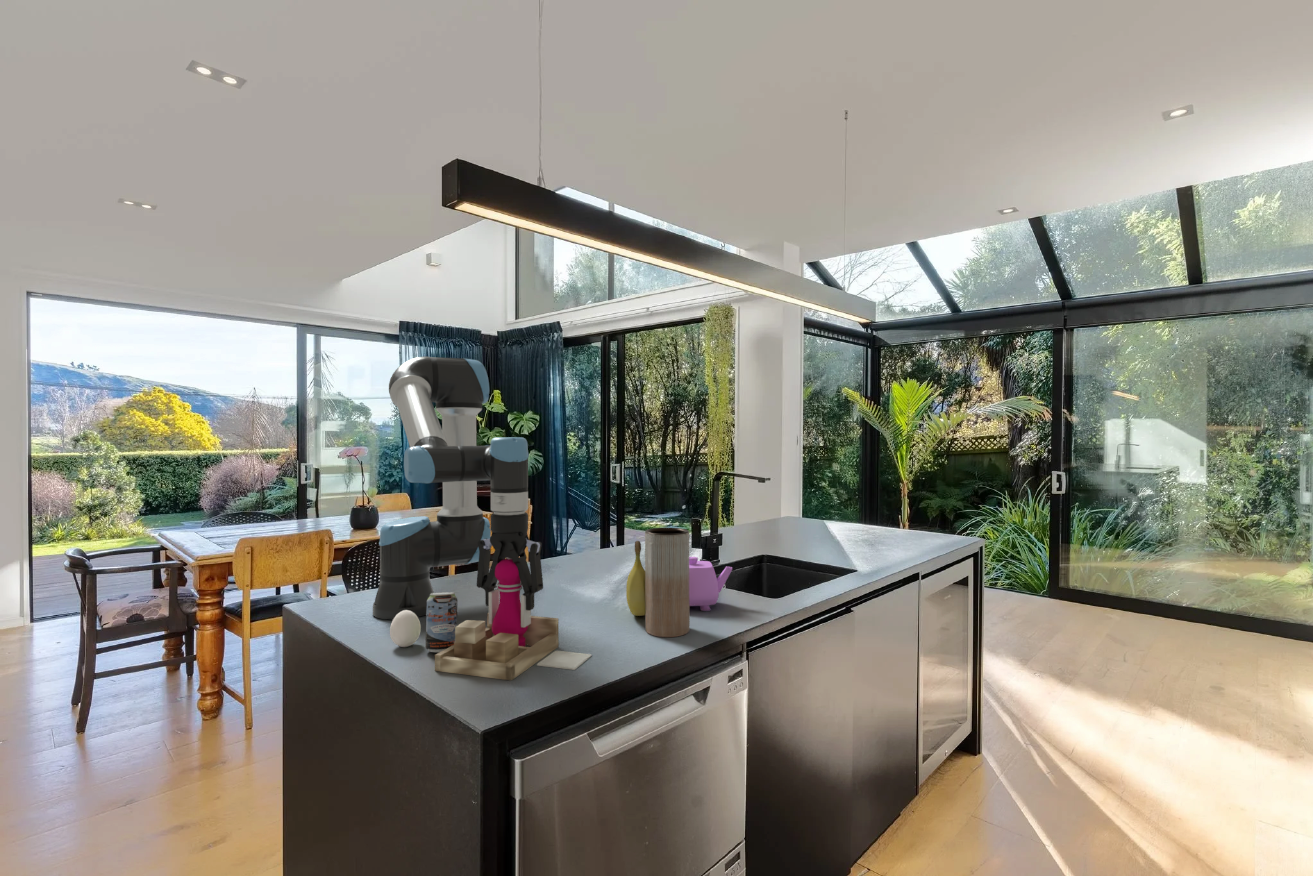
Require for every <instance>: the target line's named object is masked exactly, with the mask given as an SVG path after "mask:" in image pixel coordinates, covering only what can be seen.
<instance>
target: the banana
mask: <svg viewBox="0 0 1313 876" xmlns="http://www.w3.org/2000/svg"><path fill="white" fill-rule="evenodd" d="M641 551H642V544H641V541H639V540H636V541H635V542H634V553H635V559H634V564H633V566H632V568H631V570H630V571H629V574H628V576H627V580H626V592H625V595H626V603H627V606H628V608H629V611H630V613H631V615H632V616H635V617H636V616H637V617H638V616H639V617H640V616H643V617H645V567H644V566H643V565H642V562H641Z"/></svg>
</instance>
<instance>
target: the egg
mask: <svg viewBox="0 0 1313 876" xmlns="http://www.w3.org/2000/svg"><path fill="white" fill-rule="evenodd" d="M421 628H422V627H421V622H420V619H419V617H417V616H416V614H415V613H413V612H412V611H409V610H404V611H401V612H399V613H398V614H397V615H396V616H395V618H394V619H392V621H391V624H390V627H389V636H390V639H391V640H392V642H393V643H394V644H395V645H397V646H398V647H401V648H407V647H411V646H412V645H413V644H415V643H416V642H417V640H418V639H419V638H420V634H421V630H422V629H421Z"/></svg>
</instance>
